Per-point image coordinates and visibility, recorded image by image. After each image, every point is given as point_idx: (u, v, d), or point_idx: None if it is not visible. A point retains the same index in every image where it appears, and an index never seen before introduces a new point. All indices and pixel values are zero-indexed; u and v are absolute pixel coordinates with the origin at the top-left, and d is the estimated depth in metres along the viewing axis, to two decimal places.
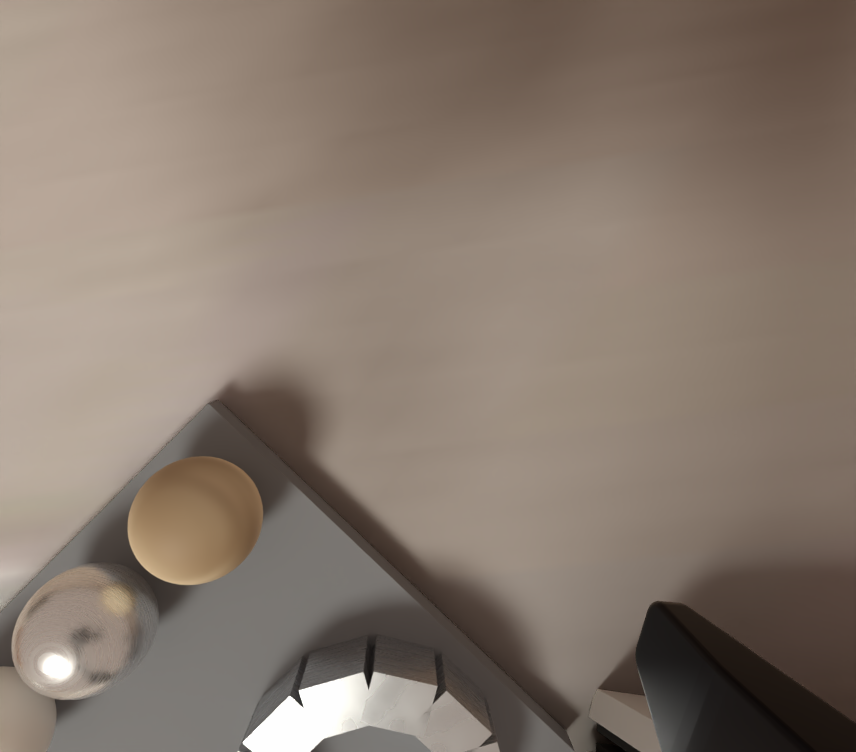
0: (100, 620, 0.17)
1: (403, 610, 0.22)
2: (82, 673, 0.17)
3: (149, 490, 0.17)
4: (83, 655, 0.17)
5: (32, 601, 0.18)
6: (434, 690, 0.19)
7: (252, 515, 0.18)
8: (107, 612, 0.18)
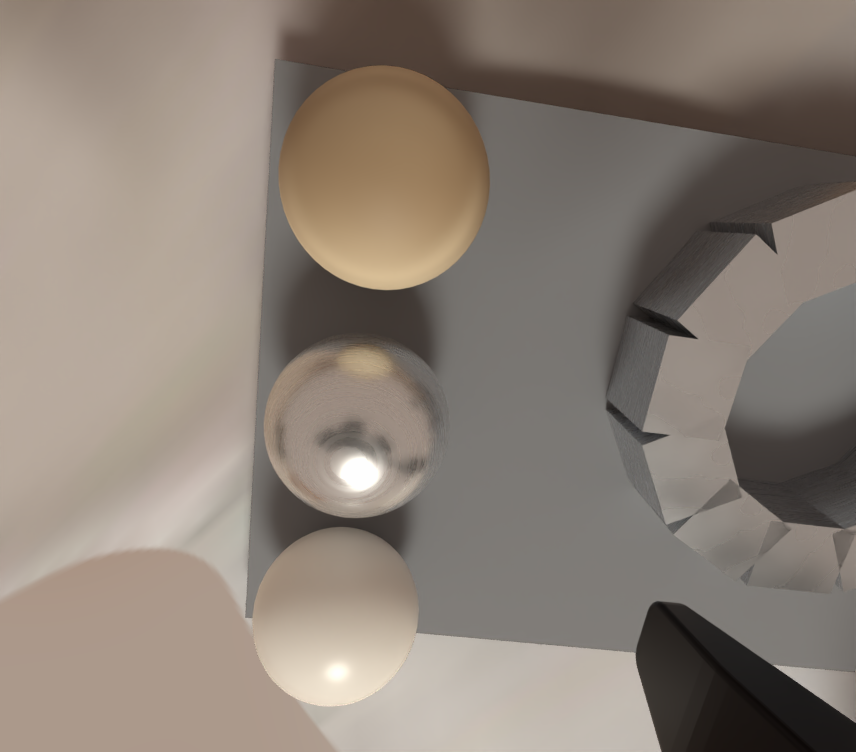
0: (366, 381, 0.11)
1: (728, 164, 0.14)
2: (397, 452, 0.11)
3: (291, 154, 0.10)
4: (382, 429, 0.11)
5: (267, 423, 0.12)
6: None
7: (459, 103, 0.10)
8: (367, 369, 0.11)
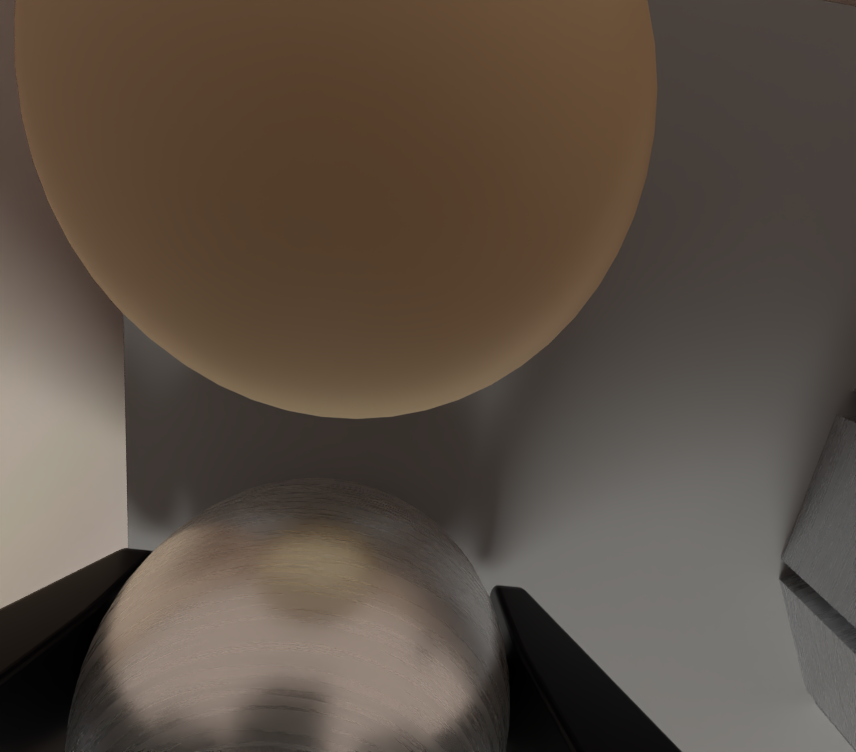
0: (302, 686, 0.04)
1: None
2: None
3: None
4: None
5: (66, 742, 0.05)
6: None
7: None
8: (310, 642, 0.04)
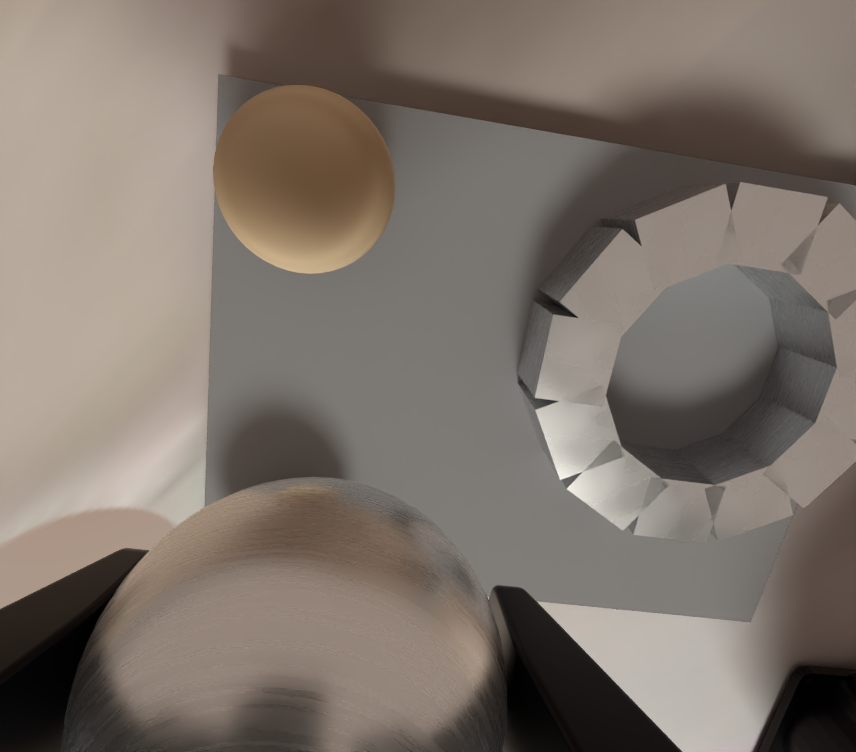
0: (299, 684, 0.04)
1: (615, 168, 0.16)
2: None
3: (220, 158, 0.12)
4: None
5: (62, 742, 0.05)
6: (724, 191, 0.13)
7: (363, 116, 0.12)
8: (307, 639, 0.04)
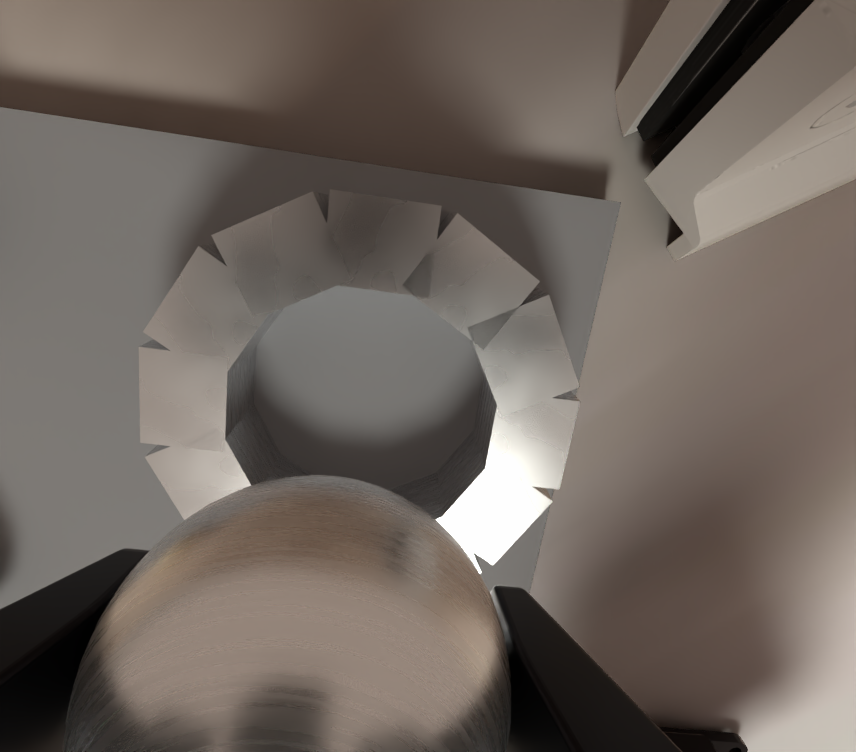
0: (304, 682, 0.04)
1: (251, 173, 0.13)
2: None
3: None
4: None
5: (64, 740, 0.05)
6: (312, 200, 0.11)
7: None
8: (310, 638, 0.04)
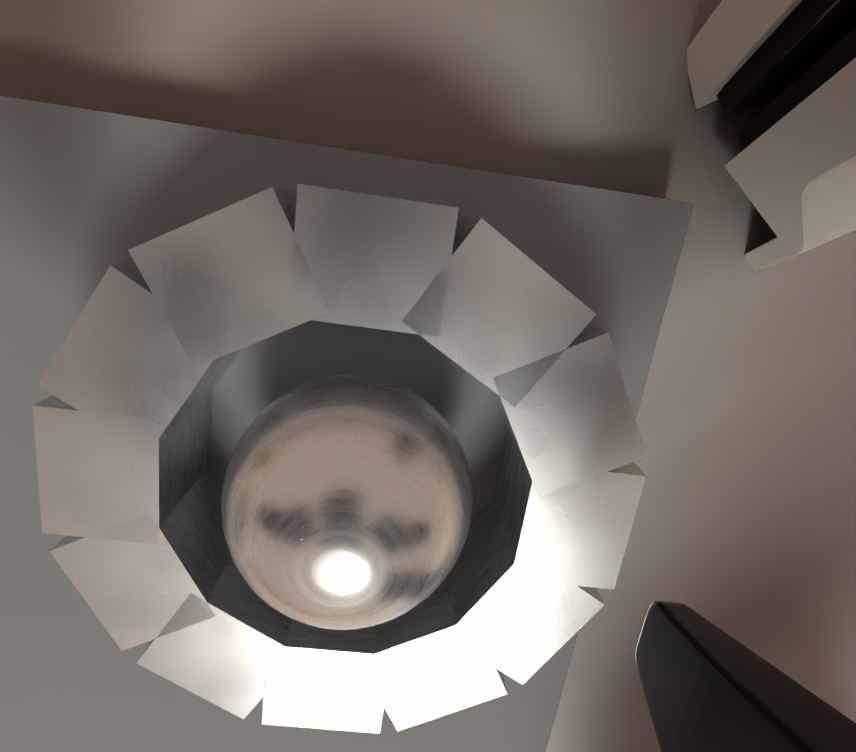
0: (362, 451, 0.08)
1: (199, 164, 0.10)
2: (406, 553, 0.08)
3: None
4: (385, 521, 0.08)
5: (224, 505, 0.08)
6: (272, 200, 0.08)
7: None
8: (363, 434, 0.08)
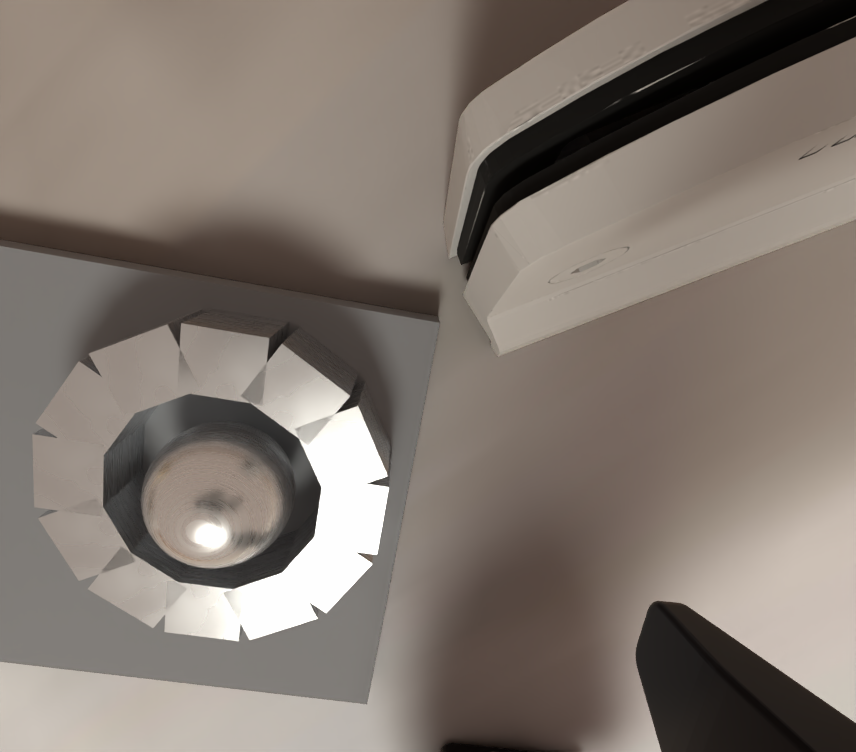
0: (216, 468, 0.14)
1: (138, 290, 0.17)
2: (239, 523, 0.15)
3: None
4: (226, 505, 0.14)
5: (142, 496, 0.15)
6: (167, 331, 0.15)
7: None
8: (218, 458, 0.15)
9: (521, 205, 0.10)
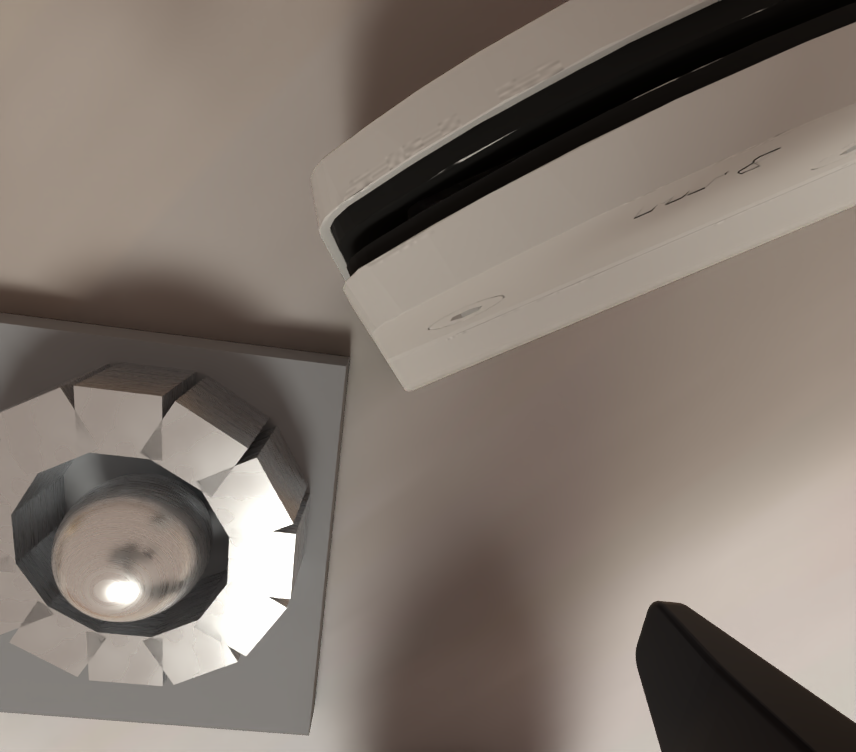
0: (122, 527, 0.15)
1: (45, 348, 0.17)
2: (149, 578, 0.15)
3: None
4: (133, 563, 0.15)
5: (51, 558, 0.15)
6: (60, 394, 0.15)
7: None
8: (124, 517, 0.15)
9: (361, 272, 0.11)
